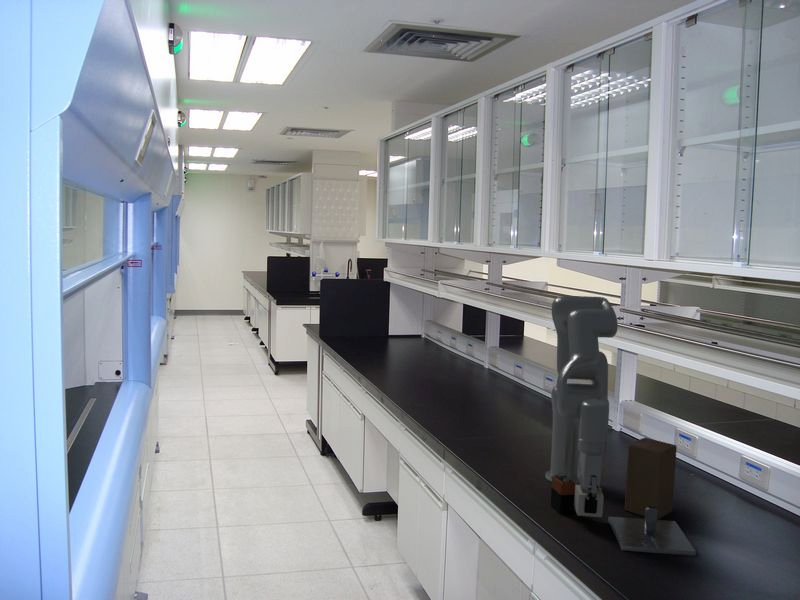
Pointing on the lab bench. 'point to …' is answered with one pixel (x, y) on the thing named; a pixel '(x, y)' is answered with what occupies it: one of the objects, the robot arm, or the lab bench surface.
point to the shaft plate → (645, 542)
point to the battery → (562, 493)
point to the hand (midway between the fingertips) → (588, 506)
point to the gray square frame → (580, 501)
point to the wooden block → (650, 476)
